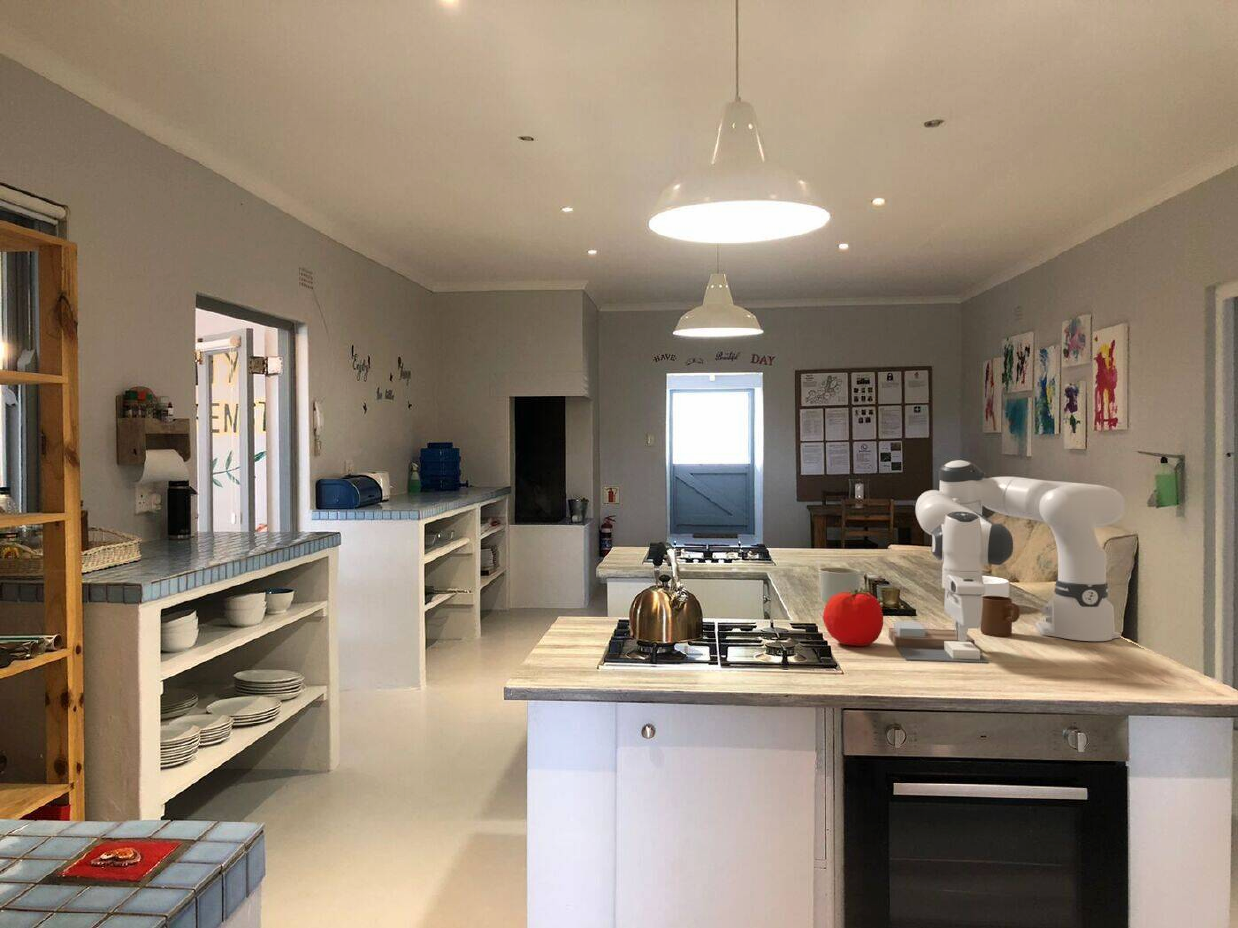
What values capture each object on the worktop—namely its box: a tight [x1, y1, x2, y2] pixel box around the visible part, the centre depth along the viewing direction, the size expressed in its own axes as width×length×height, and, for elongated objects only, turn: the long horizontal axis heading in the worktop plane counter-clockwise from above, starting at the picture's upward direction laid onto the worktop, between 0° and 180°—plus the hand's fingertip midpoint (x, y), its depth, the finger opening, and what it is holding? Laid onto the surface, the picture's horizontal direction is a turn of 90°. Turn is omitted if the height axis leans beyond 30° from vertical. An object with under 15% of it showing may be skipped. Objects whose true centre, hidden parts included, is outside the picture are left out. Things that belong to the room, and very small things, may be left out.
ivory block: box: [944, 641, 981, 659], centre depth 209 cm, size 9×6×2 cm, turn 172°
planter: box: [818, 566, 862, 605], centre depth 273 cm, size 12×12×11 cm
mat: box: [896, 647, 989, 664], centre depth 209 cm, size 12×18×1 cm, turn 82°
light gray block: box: [893, 620, 926, 637], centre depth 222 cm, size 9×6×2 cm, turn 172°
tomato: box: [822, 588, 884, 647], centre depth 220 cm, size 16×14×14 cm
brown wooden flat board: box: [888, 627, 976, 649], centre depth 221 cm, size 12×18×2 cm, turn 82°
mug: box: [980, 596, 1021, 637], centre depth 231 cm, size 12×8×9 cm, turn 16°
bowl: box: [982, 575, 1010, 598], centre depth 273 cm, size 17×17×8 cm
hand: (961, 639), depth 210 cm, fingers closed
